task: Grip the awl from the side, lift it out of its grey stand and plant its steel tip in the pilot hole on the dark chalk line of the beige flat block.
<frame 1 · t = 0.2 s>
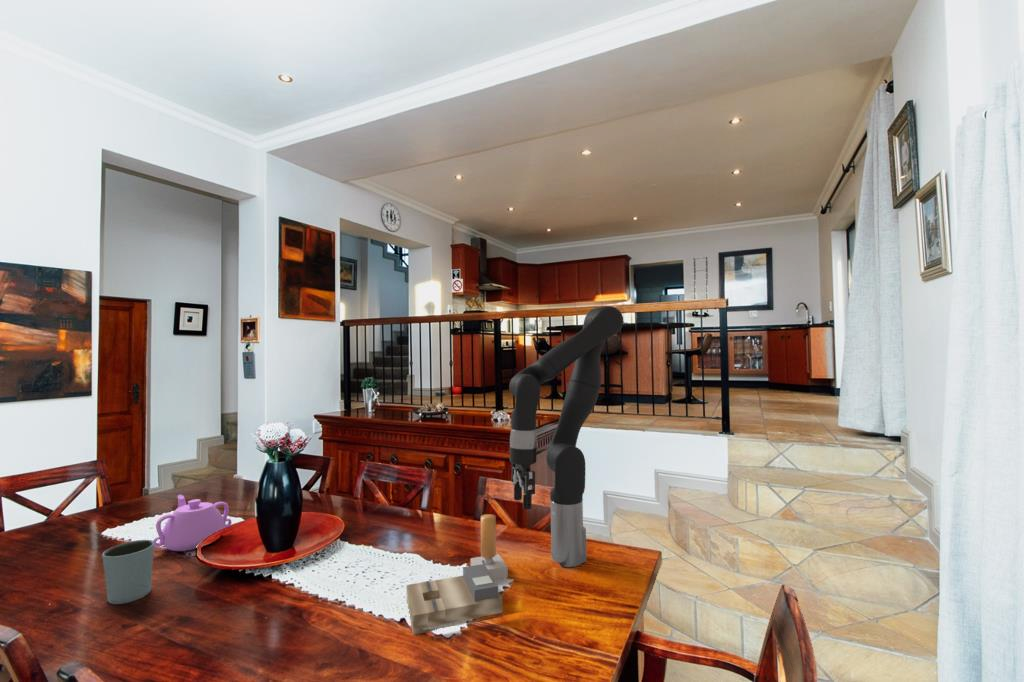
hand: (522, 504, 130), 18 cm above the table, fingers open, 8 cm apart
teapot: (191, 542, 151), on the table
awl stand: (488, 577, 124), on the table
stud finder: (479, 586, 111), resting on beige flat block
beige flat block: (453, 609, 109), on the table
awl: (488, 573, 124), point 1 cm above the table, touching awl stand
grey cup: (128, 596, 117), on the table
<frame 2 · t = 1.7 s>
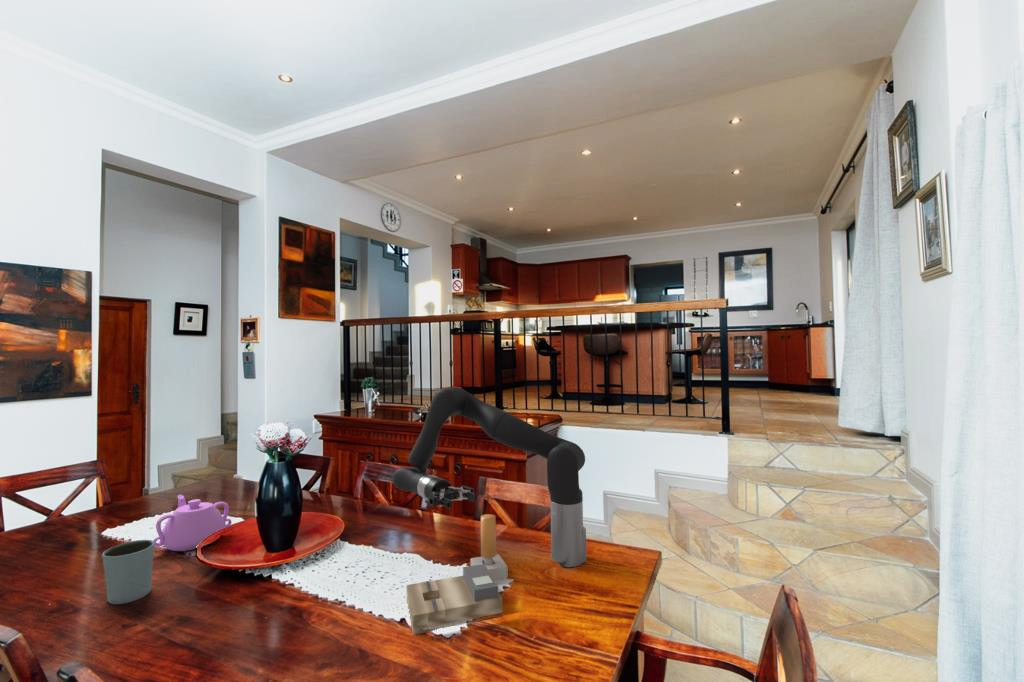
hand: (463, 501, 133), 17 cm above the table, fingers open, 8 cm apart
nothing on the table moved.
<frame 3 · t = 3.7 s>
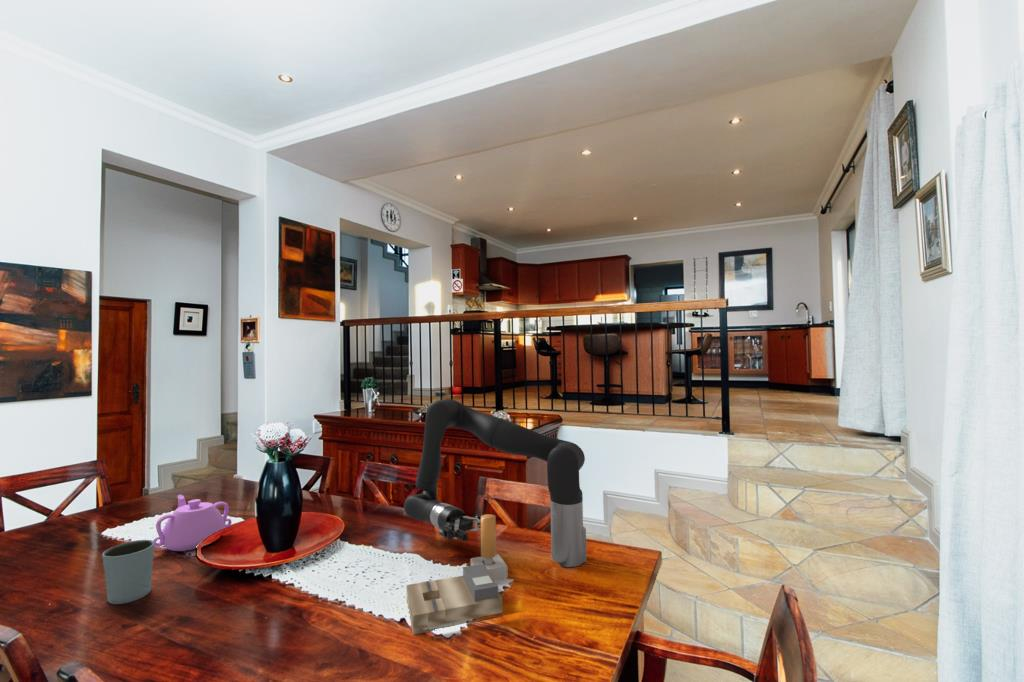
hand: (479, 533, 128), 10 cm above the table, fingers open, 8 cm apart
nothing on the table moved.
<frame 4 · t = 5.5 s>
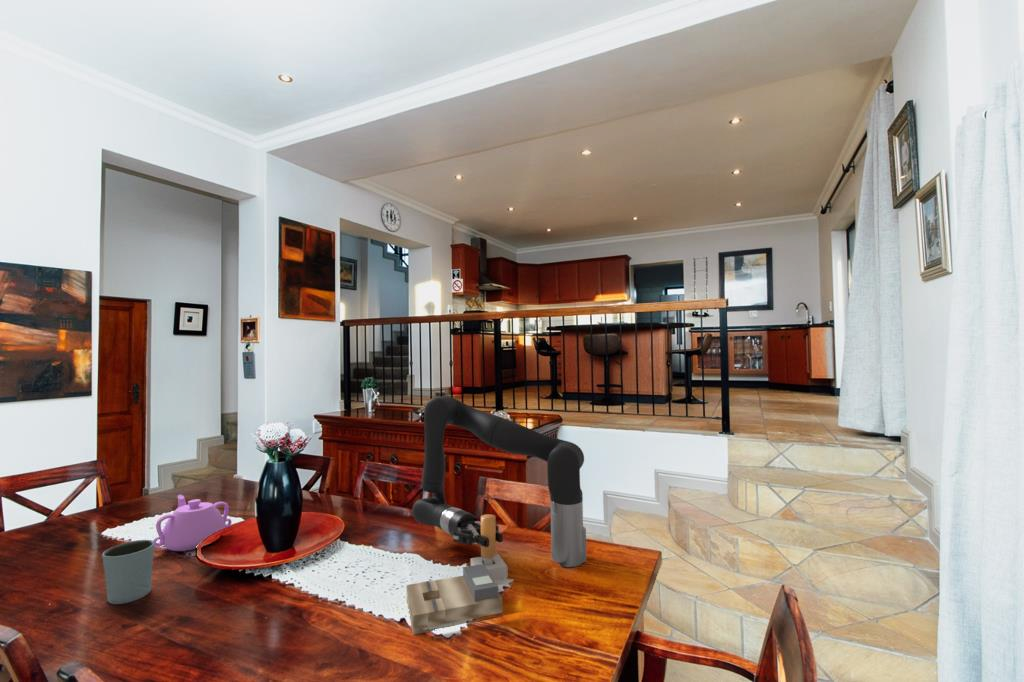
hand: (494, 540, 123), 10 cm above the table, fingers closed on awl, 4 cm apart
awl: (488, 573, 124), point 1 cm above the table, touching awl stand, gripper
everything else where it was.
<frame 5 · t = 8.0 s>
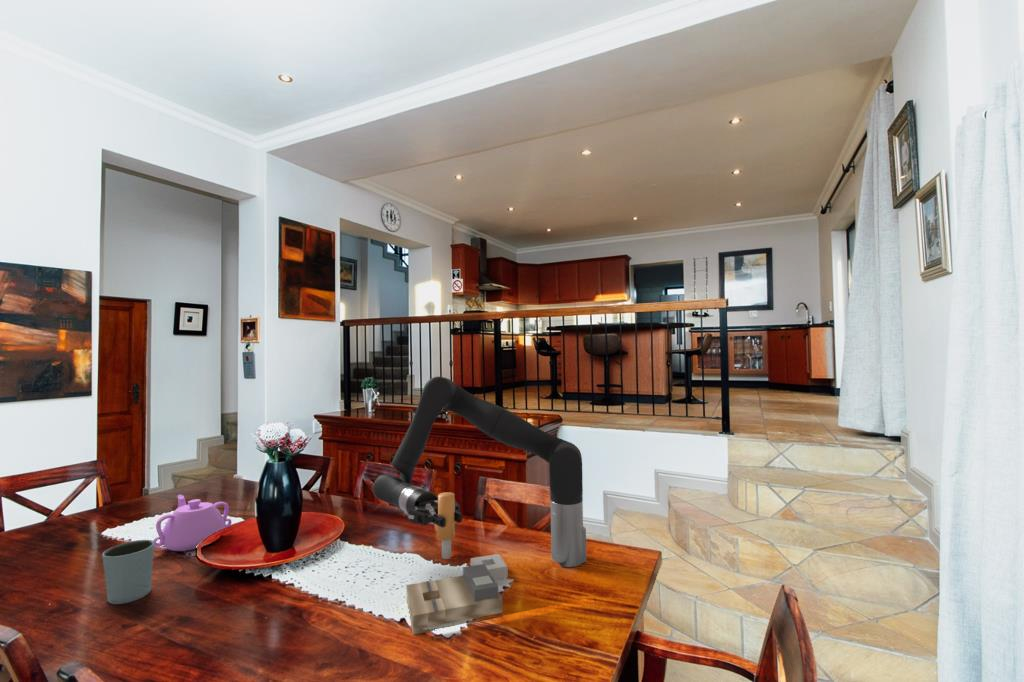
hand: (452, 520, 111), 20 cm above the table, fingers closed on awl, 4 cm apart
awl: (446, 556, 113), point 11 cm above the table, touching gripper
everything else where it was.
when the fingers open (11 cm above the table, at t = 10.8 s): awl stays where it is, resting on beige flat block.
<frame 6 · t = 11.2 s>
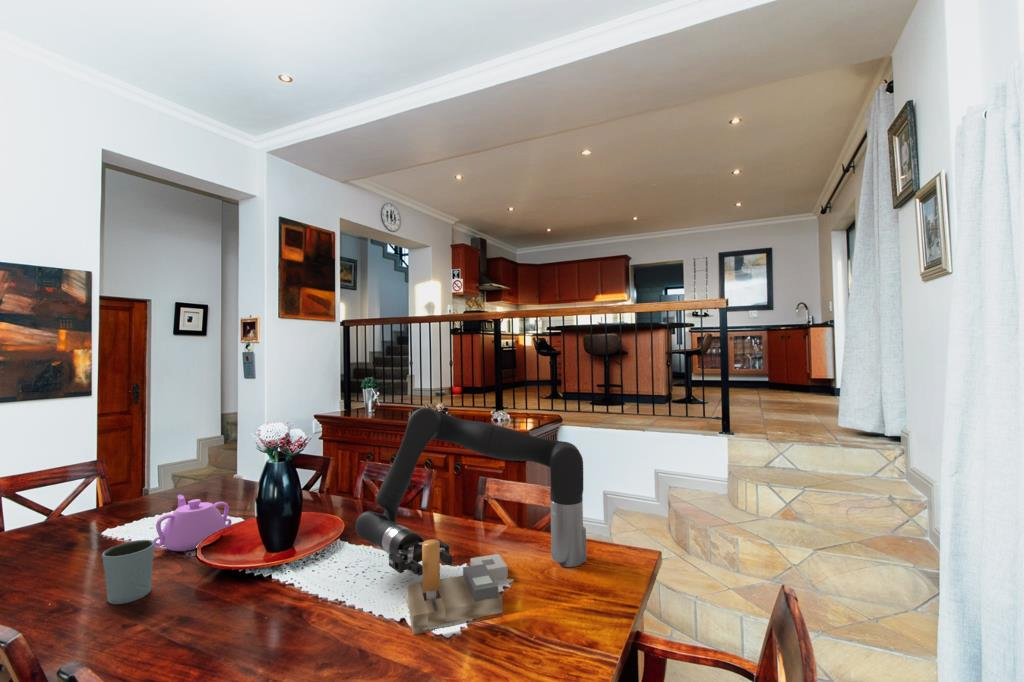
hand: (436, 565, 106), 12 cm above the table, fingers open, 7 cm apart
awl: (431, 608, 108), point 1 cm above the table, touching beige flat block
everything else where it was.
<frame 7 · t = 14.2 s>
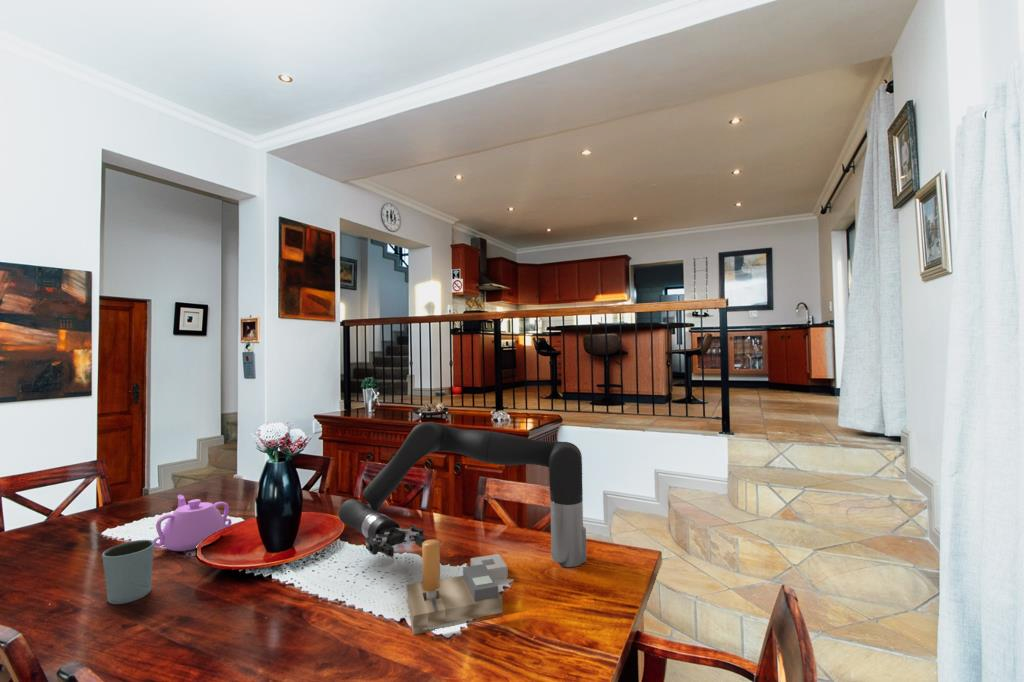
hand: (408, 547, 116), 12 cm above the table, fingers open, 8 cm apart
nothing on the table moved.
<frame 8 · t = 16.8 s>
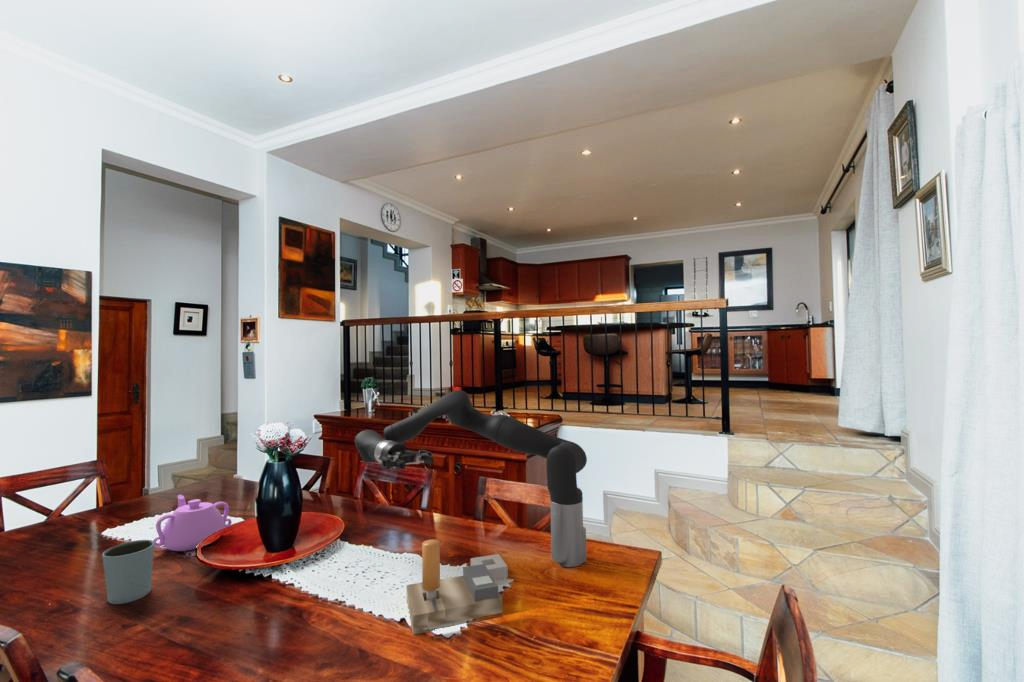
hand: (418, 463, 128), 30 cm above the table, fingers open, 8 cm apart
nothing on the table moved.
at the end: awl 0.1 cm from the target spot on the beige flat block, point 1.0 cm above the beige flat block's base; awl tilted 0°; the gripper is holding nothing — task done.
